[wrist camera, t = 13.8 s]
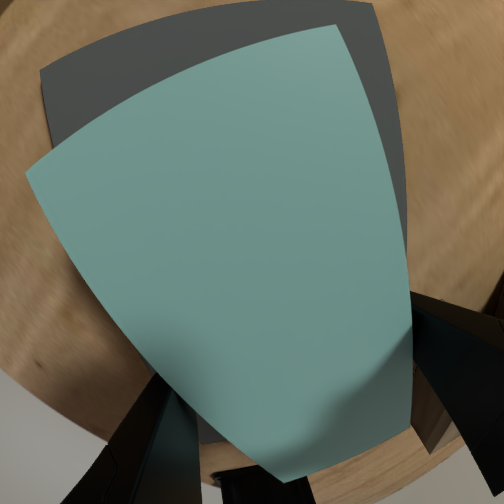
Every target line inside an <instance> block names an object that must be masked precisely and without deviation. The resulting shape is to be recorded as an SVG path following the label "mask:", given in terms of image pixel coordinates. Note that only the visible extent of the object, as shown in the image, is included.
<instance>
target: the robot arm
mask: <svg viewBox="0 0 504 504" xmlns="http://www.w3.org/2000/svg"><path fill="white" fill-rule="evenodd" d="M410 300H411V314H412V335H413V360H414V361H415V363H416V364H417V366H418V367H419V369H420V370H421V372H422V373H423V375H424V376H425V378H426V380H427V381H428V383H429V384H430V386H431V387H432V389H433V390H434V392H435V393H436V395H437V397H438V398H439V400H440V401H441V403H442V405H443V406H444V408H445V409H446V411H447V413H448V414H449V416H450V418H451V419H452V421H453V423H454V424H455V426H456V428H457V429H458V431H459V433H460V434H461V436H462V438H463V440H464V441H465V443H466V445H467V447H468V448H469V450H470V451H471V454H472V456H473V458H474V460H475V461H476V463H477V465H478V467H479V469H480V471H481V473H482V475H483V477H484V479H485V480H486V482H487V484H488V486H489V488H490V490H491V493H492V494H493V496H494V497H495V496H497V495H498V494H500V493H501V492H503V491H504V320H501V319H497V318H495V317H492V316H489V315H485V314H482V313H479V312H476V311H473V310H470V309H466V308H463V307H460V306H457V305H454V304H451V303H447V302H444V301H441V300H438V299H435V298H431V297H428V296H425V295H422V294H418V293H415V292H412V291H410ZM213 479H214V481H215V482H216V483H217V484H218V485H219V486H221V492H222V500H223V504H316V502H315V499H314V496H313V493H312V490H311V487H310V484H309V481H308V478H307V476H304V477H301V478H298V479H295V480H292V481H289V482H285V483H283V482H282V481H280V480H279V479H278V478H276V477H275V476H273V475H272V474H271V473H269V472H268V471H266V470H265V469H264V468H262V467H261V466H256V467H251V468H246V469H241V470H235V471H229V472H223V473H216V474H214V475H213ZM60 504H202V493H201V479H200V462H199V442H198V423H197V416H196V411H195V410H194V409H193V408H192V407H191V406H190V405H189V404H188V403H187V402H186V401H185V400H184V399H183V398H182V397H181V396H180V395H179V394H178V393H177V392H176V391H175V390H174V389H173V388H172V387H171V386H170V385H169V384H168V383H167V382H166V381H165V380H164V379H163V378H162V377H161V376H160V375H159V373H158V372H157V371H156V372H155V374H154V375H153V377H152V378H151V380H150V381H149V383H148V384H147V385H146V387H145V388H144V390H143V391H142V393H141V394H140V396H139V397H138V399H137V400H136V402H135V403H134V404H133V406H132V407H131V409H130V410H129V412H128V413H127V415H126V416H125V418H124V419H123V421H122V422H121V424H120V425H119V427H118V428H117V430H116V431H115V432H114V434H113V435H112V437H111V438H110V440H109V441H108V445H106V446H105V447H104V449H103V450H102V452H101V453H100V455H99V456H98V458H97V459H96V460H95V462H94V463H93V464H92V466H91V467H90V469H89V470H88V471H87V472H86V474H85V475H84V476H83V477H82V478H81V480H80V481H79V482H78V484H76V486H75V487H74V488H73V489H72V490H71V492H70V493H69V494H68V495H67V496H66V497H65V499H64V500H63V501H62V502H61V503H60Z"/></svg>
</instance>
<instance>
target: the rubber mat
mask: <svg viewBox="0 0 504 504" xmlns="http://www.w3.org/2000/svg"><path fill="white" fill-rule="evenodd" d="M335 24H336V26H337V28H338V30H339V32H340V34H341V36H342V38H343V40H344V42H345V44H346V47H347V49H348V51H349V53H350V56H351V58H352V60H353V63H354V65H355V67H356V70H357V72H358V75H359V77H360V80H361V83H362V85H363V88H364V90H365V93H366V96H367V99H368V101H369V104H370V107H371V110H372V113H373V116H374V119H375V122H376V125H377V129H378V132H379V135H380V138H381V142H382V145H383V149H384V152H385V156H386V160H387V164H388V168H389V172H390V176H391V180H392V184H393V188H394V193H395V197H396V202H397V207H398V212H399V217H400V223H401V229H402V235H403V241H404V247H405V254H406V251H407V201H406V179H405V165H404V154H403V144H402V135H401V127H400V120H399V113H398V107H397V101H396V95H395V90H394V84H393V79H392V75H391V70H390V65H389V61H388V57H387V53H386V49H385V45H384V41H383V38H382V34H381V30H380V27H379V24H378V20H377V17H376V14H375V11H374V8H373V5H372V3H366V2H357V1H347V0H260V1H249V2H240V3H232V4H226V5H219V6H213V7H208V8H202V9H197V10H193V11H188V12H184V13H180V14H176V15H172V16H168V17H164V18H161V19H157V20H154V21H150V22H147V23H144V24H141V25H138V26H135V27H132V28H129V29H126V30H124V31H121V32H118V33H116V34H113V35H110V36H108V37H105V38H103V39H101V40H98V41H96V42H94V43H91V44H89V45H87V46H85V47H83V48H80V49H78V50H76V51H74V52H72V53H70V54H68V55H66V56H64V57H62V58H60V59H59V60H57V61H55V62H53V63H51V64H49V65H48V66H46V67H44V68H42V69H41V70H40V77H41V84H42V91H43V97H44V103H45V109H46V114H47V119H48V124H49V129H50V133H51V138H52V142H53V146H54V148H55V147H56V146H58V145H59V144H60V143H62V142H63V141H64V140H66V139H67V138H68V137H70V136H71V135H73V134H74V133H75V132H77V131H78V130H80V129H81V128H82V127H84V126H85V125H87V124H88V123H90V122H91V121H93V120H94V119H96V118H97V117H99V116H101V115H102V114H104V113H105V112H107V111H108V110H110V109H112V108H113V107H115V106H117V105H118V104H120V103H122V102H123V101H125V100H127V99H129V98H130V97H132V96H134V95H136V94H138V93H139V92H141V91H143V90H145V89H147V88H149V87H151V86H153V85H155V84H157V83H159V82H161V81H163V80H165V79H167V78H169V77H171V76H173V75H175V74H177V73H179V72H182V71H184V70H186V69H188V68H191V67H193V66H195V65H198V64H200V63H202V62H205V61H207V60H210V59H212V58H215V57H218V56H220V55H223V54H226V53H228V52H231V51H234V50H237V49H240V48H243V47H246V46H249V45H252V44H255V43H258V42H262V41H265V40H269V39H272V38H276V37H279V36H283V35H287V34H291V33H295V32H300V31H304V30H309V29H313V28H318V27H324V26H329V25H335ZM136 349H137V348H136ZM137 351H138V350H137ZM138 353H139V354H140V356H141V358H142V359H143V361H144V363H145V364H146V366H147V368H148V369H149V371H150V372H151V374H152V376H153V375H154V374H155V372H156V370H155V369H154V368H153V367H152V366H151V365H150V363H149V362H148V361H147V360H146V359H145V358H144V357H143V355H142V354H141V353H140V352H139V351H138ZM196 416H197V423H198V441H199V442H200V443H201V444H209V443H215V442H221V441H227V439H226V438H225V437H224V436H223V435H221V434H220V433H219V432H218V431H217V430H216V429H215V428H213V427H212V426H211V425H210V424H209V423H208V422H207V421H206V420H205V419H203V418H202V417H201V416H200V415H199V414H198V413H197V412H196Z"/></svg>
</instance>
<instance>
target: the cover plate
mask: <svg viewBox="0 0 504 504" xmlns="http://www.w3.org/2000/svg"><path fill="white" fill-rule="evenodd" d="M25 175H26V177H27V179H28V181H29V183H30V186H31V188H32V190H33V192H34V194H35V196H36V198H37V200H38V202H39V204H40V206H41V208H42V210H43V211H44V213H45V215H46V217H47V219H48V221H49V223H50V224H51V226H52V228H53V230H54V232H55V233H56V235H57V237H58V238H59V240H60V242H61V244H62V245H63V247H64V249H65V250H66V252H67V253H68V255H69V257H70V258H71V260H72V261H73V263H74V265H75V266H76V268H77V269H78V271H79V272H80V274H81V275H82V277H83V278H84V280H85V281H86V283H87V284H88V286H89V287H90V289H91V290H92V291H93V293H94V294H95V296H96V297H97V299H98V300H99V301H100V303H101V304H102V305H103V307H104V308H105V309H106V311H107V312H108V313H109V315H110V316H111V317H112V319H113V320H114V321H115V323H116V324H117V325H118V326H119V328H120V329H121V330H122V331H123V333H124V334H125V335H126V336H127V338H128V339H129V340H130V341H131V343H132V344H133V345H134V346H135V347H136V348H137V350H138V351H139V352H140V353H141V354H142V355H143V357H144V358H145V359H146V360H147V361H148V362H149V363H150V365H151V366H152V367H153V368H154V369H155V370H156V371H157V372H158V373H159V375H160V376H161V377H162V378H163V379H164V380H165V381H166V382H167V383H168V384H169V385H170V386H171V387H172V388H173V389H174V390H175V391H176V392H177V393H178V394H179V395H180V396H181V397H182V398H183V399H184V400H185V401H186V402H187V403H188V404H189V405H190V406H191V407H192V408H193V409H194V410H195V411H196V412H197V413H198V414H199V415H200V416H201V417H202V418H203V419H205V420H206V421H207V422H208V423H209V424H210V425H211V426H212V427H213V428H215V429H216V430H217V431H218V432H219V433H220V434H221V435H223V436H224V437H225V438H226V439H227V440H228V441H230V442H231V443H232V444H233V445H234V446H236V447H237V448H238V449H239V450H240V451H242V452H243V453H244V454H245V455H247V456H248V457H249V458H251V459H252V460H253V461H254V462H256V463H257V464H258V465H260V466H261V467H262V468H264V469H265V470H266V471H268V472H269V473H271V474H272V475H273V476H275V477H276V478H278V479H279V480H280V481H282V482H283V483H285V482H289V481H292V480H295V479H298V478H301V477H304V476H307V475H310V474H312V473H315V472H318V471H320V470H323V469H326V468H328V467H331V466H333V465H336V464H338V463H340V462H343V461H345V460H347V459H350V458H352V457H354V456H356V455H358V454H361V453H363V452H365V451H367V450H369V449H371V448H373V447H375V446H377V445H379V444H381V443H383V442H385V441H386V440H388V439H390V438H392V437H394V436H396V435H397V434H399V433H401V432H403V431H404V430H406V429H408V428H409V427H410V418H411V405H412V384H413V335H412V314H411V300H410V289H409V279H408V270H407V262H406V254H405V247H404V241H403V235H402V229H401V223H400V217H399V212H398V207H397V202H396V197H395V193H394V188H393V184H392V180H391V176H390V172H389V168H388V164H387V160H386V156H385V152H384V149H383V145H382V142H381V138H380V135H379V132H378V129H377V125H376V122H375V119H374V116H373V113H372V110H371V107H370V104H369V101H368V99H367V96H366V93H365V90H364V88H363V85H362V83H361V80H360V77H359V75H358V72H357V70H356V67H355V65H354V63H353V60H352V58H351V56H350V53H349V51H348V49H347V47H346V44H345V42H344V40H343V38H342V36H341V34H340V32H339V30H338V28H337V26H336V24H335V25H329V26H324V27H318V28H313V29H309V30H304V31H300V32H295V33H291V34H287V35H283V36H279V37H276V38H272V39H269V40H265V41H262V42H258V43H255V44H252V45H249V46H246V47H243V48H240V49H237V50H234V51H231V52H228V53H226V54H223V55H220V56H218V57H215V58H212V59H210V60H207V61H205V62H202V63H200V64H198V65H195V66H193V67H191V68H188V69H186V70H184V71H182V72H179V73H177V74H175V75H173V76H171V77H169V78H167V79H165V80H163V81H161V82H159V83H157V84H155V85H153V86H151V87H149V88H147V89H145V90H143V91H141V92H139V93H138V94H136V95H134V96H132V97H130V98H129V99H127V100H125V101H123V102H122V103H120V104H118V105H117V106H115V107H113V108H112V109H110V110H108V111H107V112H105V113H104V114H102V115H101V116H99V117H97V118H96V119H94V120H93V121H91V122H90V123H88V124H87V125H85V126H84V127H82V128H81V129H80V130H78V131H77V132H75V133H74V134H73V135H71V136H70V137H68V138H67V139H66V140H64V141H63V142H62V143H60V144H59V145H58V146H56V147H55V148H54V149H53V150H51V151H50V152H49V153H48V154H46V155H45V156H44V157H43V158H41V159H40V160H39V161H38V162H37V163H35V164H34V165H33V166H32V167H31V168H30V169H28V170H27V171H26V172H25Z"/></svg>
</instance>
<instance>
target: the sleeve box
mask: <svg viewBox="0 0 504 504" xmlns="http://www.w3.org/2000/svg"><path fill="white" fill-rule="evenodd" d="M441 301H444V300H443V299H441ZM444 302H445V301H444ZM494 317H495V318H497V319H501V320H504V283H503V287H502V291H501V295H500V298H499V302H498V305H497V309H496V312H495V315H494ZM410 423H411V425H412V427H413V428H414V430H415V431H416V433H417V435H418V436H419V438H420V440H421V441H422V443H423V444H424V446H425V448H426V449H427V451H428V453H429V454H430V455H431V454H432V453H434V452H436V451H437V450H439V449H440V448H442V447H444V446H445V445H447V444H448V443H450V442H451V441H453V440H454V439H456V438H457V437H459V436H460V435H461V434H460V433H459V431H458V429H457V428H456V426H455V424H454V423H453V421H452V419H451V418H450V416H449V414H448V413H447V411H446V409H445V408H444V406H443V405H442V403H441V401H440V400H439V398H438V397H437V395H436V393H435V392H434V390H433V389H432V387H431V386H430V384H429V383H428V381H427V380H426V378H425V376H424V375H423V373H422V372H421V370H420V369H419V367H418V366H417V368H416V372H415V376H414V379H413V384H412V405H411V418H410Z"/></svg>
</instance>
